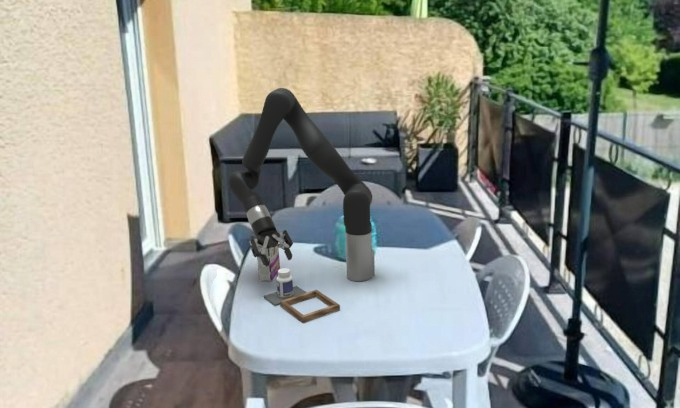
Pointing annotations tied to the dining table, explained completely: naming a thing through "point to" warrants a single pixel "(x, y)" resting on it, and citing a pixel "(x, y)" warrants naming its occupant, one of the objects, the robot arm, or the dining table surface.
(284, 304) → the walnut frame
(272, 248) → the candy bar box
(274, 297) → the charcoal mat
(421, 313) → the dining table surface
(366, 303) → the dining table surface
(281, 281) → the pill bottle
